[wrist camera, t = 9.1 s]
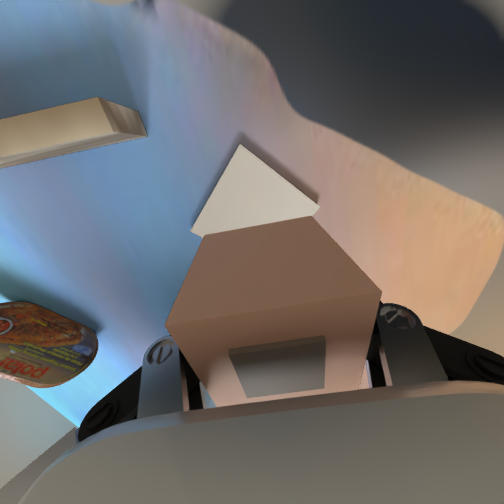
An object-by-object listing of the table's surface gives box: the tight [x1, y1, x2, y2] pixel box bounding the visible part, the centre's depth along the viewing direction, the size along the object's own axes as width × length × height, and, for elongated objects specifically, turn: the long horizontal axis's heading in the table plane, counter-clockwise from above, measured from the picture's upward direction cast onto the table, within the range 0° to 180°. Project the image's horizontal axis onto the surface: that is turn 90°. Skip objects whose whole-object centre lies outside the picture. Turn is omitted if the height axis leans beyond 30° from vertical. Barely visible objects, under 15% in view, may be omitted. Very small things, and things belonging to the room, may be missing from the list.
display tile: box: [191, 144, 320, 238], centre depth 22 cm, size 11×11×1 cm
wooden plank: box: [0, 97, 148, 168], centre depth 16 cm, size 2×22×6 cm, turn 100°
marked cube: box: [164, 216, 382, 407], centre depth 9 cm, size 6×6×6 cm
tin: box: [0, 302, 98, 388], centre depth 26 cm, size 15×3×8 cm, turn 43°
